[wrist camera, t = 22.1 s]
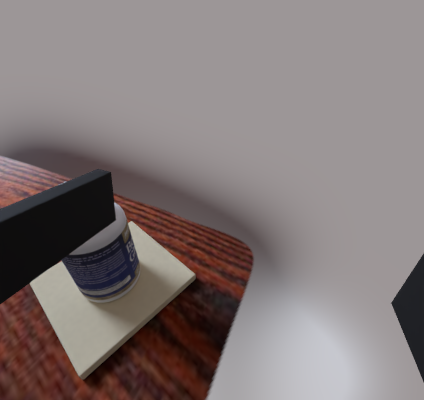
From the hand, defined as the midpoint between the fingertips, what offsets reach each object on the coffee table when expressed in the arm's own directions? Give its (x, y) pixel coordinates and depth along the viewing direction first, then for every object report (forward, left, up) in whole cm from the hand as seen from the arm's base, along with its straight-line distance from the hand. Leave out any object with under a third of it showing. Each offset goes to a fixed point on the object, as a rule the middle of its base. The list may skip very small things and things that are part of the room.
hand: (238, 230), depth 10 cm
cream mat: (+12, +3, -13) cm, 17 cm away
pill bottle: (+12, +3, -12) cm, 17 cm away
